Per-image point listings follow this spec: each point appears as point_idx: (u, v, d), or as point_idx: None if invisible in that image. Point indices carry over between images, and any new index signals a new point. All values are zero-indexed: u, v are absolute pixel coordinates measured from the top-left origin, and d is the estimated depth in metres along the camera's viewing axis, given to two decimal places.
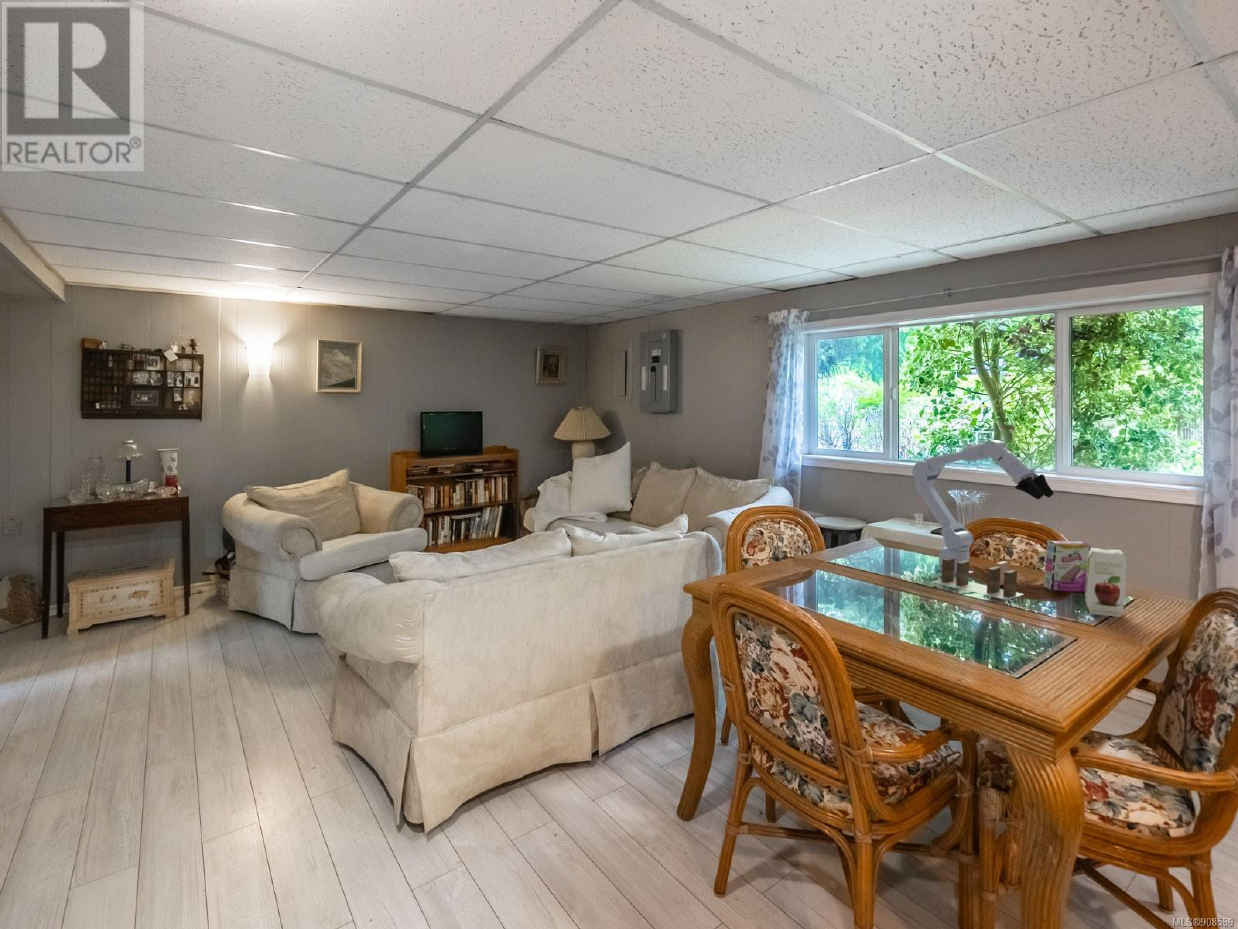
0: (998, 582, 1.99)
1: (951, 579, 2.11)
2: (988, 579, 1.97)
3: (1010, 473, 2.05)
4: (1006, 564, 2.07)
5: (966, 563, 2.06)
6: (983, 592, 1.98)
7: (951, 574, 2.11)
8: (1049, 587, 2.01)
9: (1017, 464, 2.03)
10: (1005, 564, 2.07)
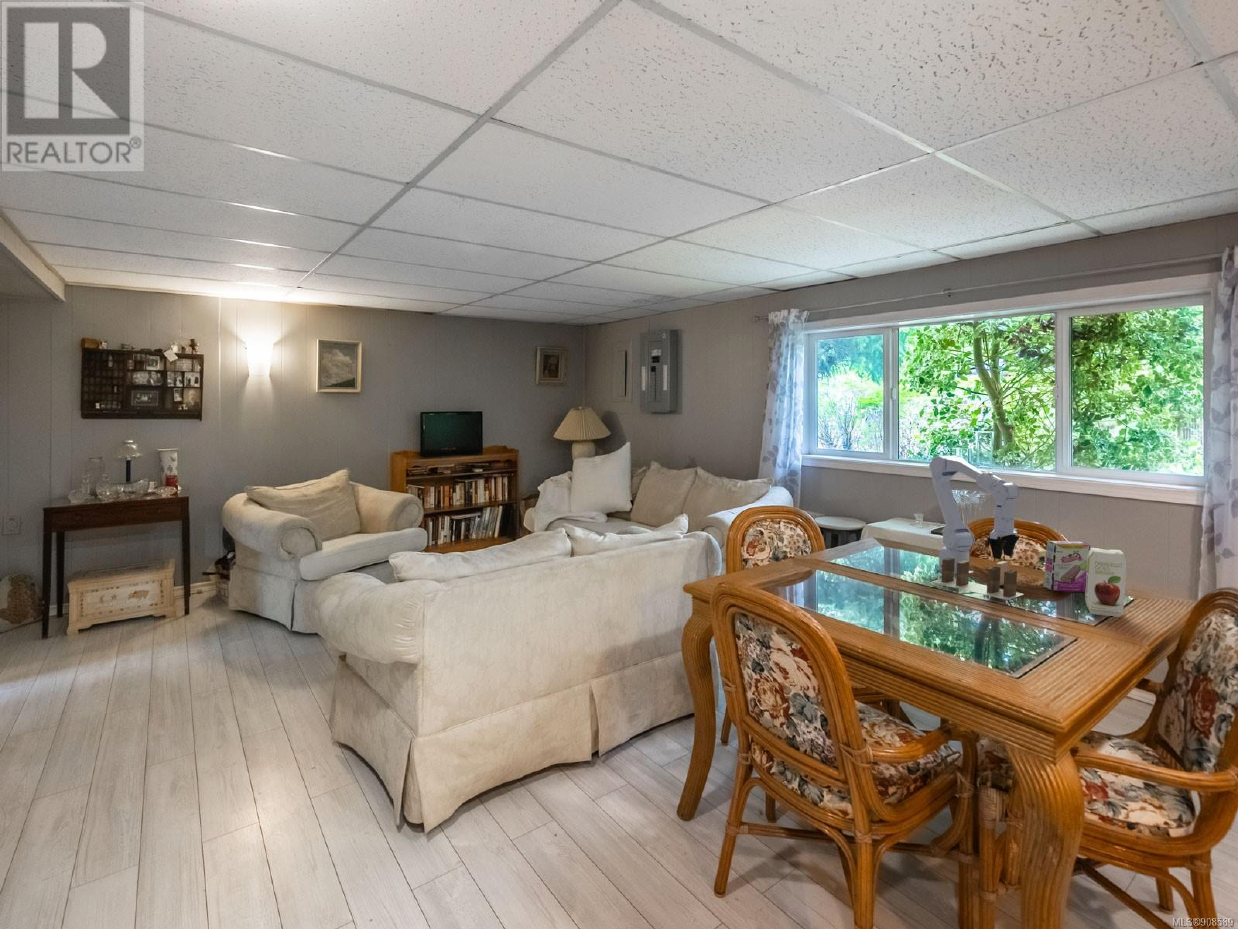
0: (998, 582, 1.99)
1: (951, 579, 2.11)
2: (988, 579, 1.97)
3: (996, 522, 2.06)
4: (1006, 564, 2.07)
5: (966, 563, 2.06)
6: (983, 592, 1.98)
7: (951, 574, 2.11)
8: (1049, 587, 2.01)
9: (1008, 521, 2.03)
10: (1005, 564, 2.07)
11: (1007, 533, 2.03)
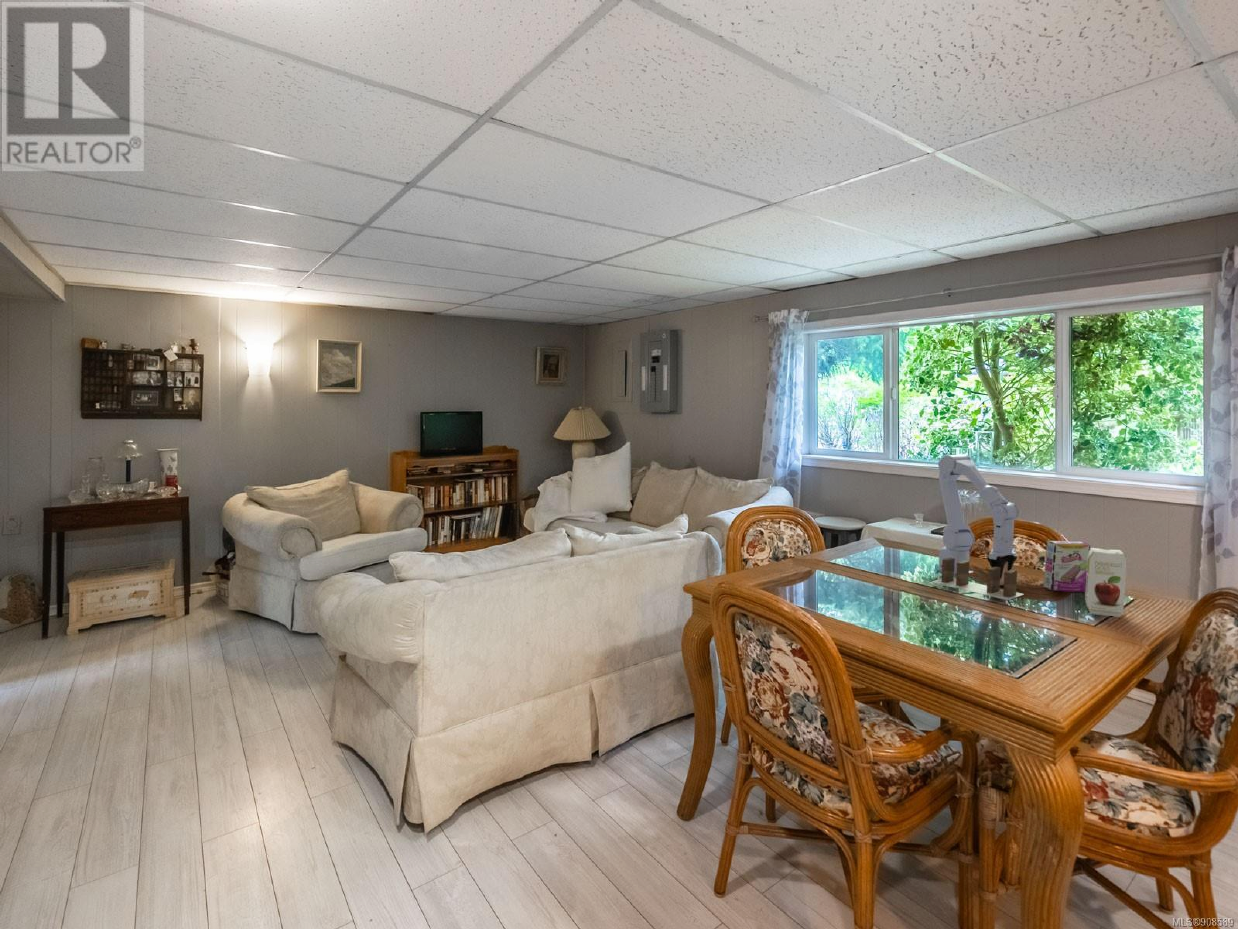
0: (998, 582, 1.99)
1: (951, 579, 2.11)
2: (988, 579, 1.97)
3: (995, 542, 2.06)
4: (1006, 564, 2.07)
5: (966, 563, 2.06)
6: (983, 592, 1.98)
7: (951, 574, 2.11)
8: (1049, 587, 2.01)
9: (1007, 541, 2.04)
10: (1005, 564, 2.07)
11: (1006, 553, 2.04)
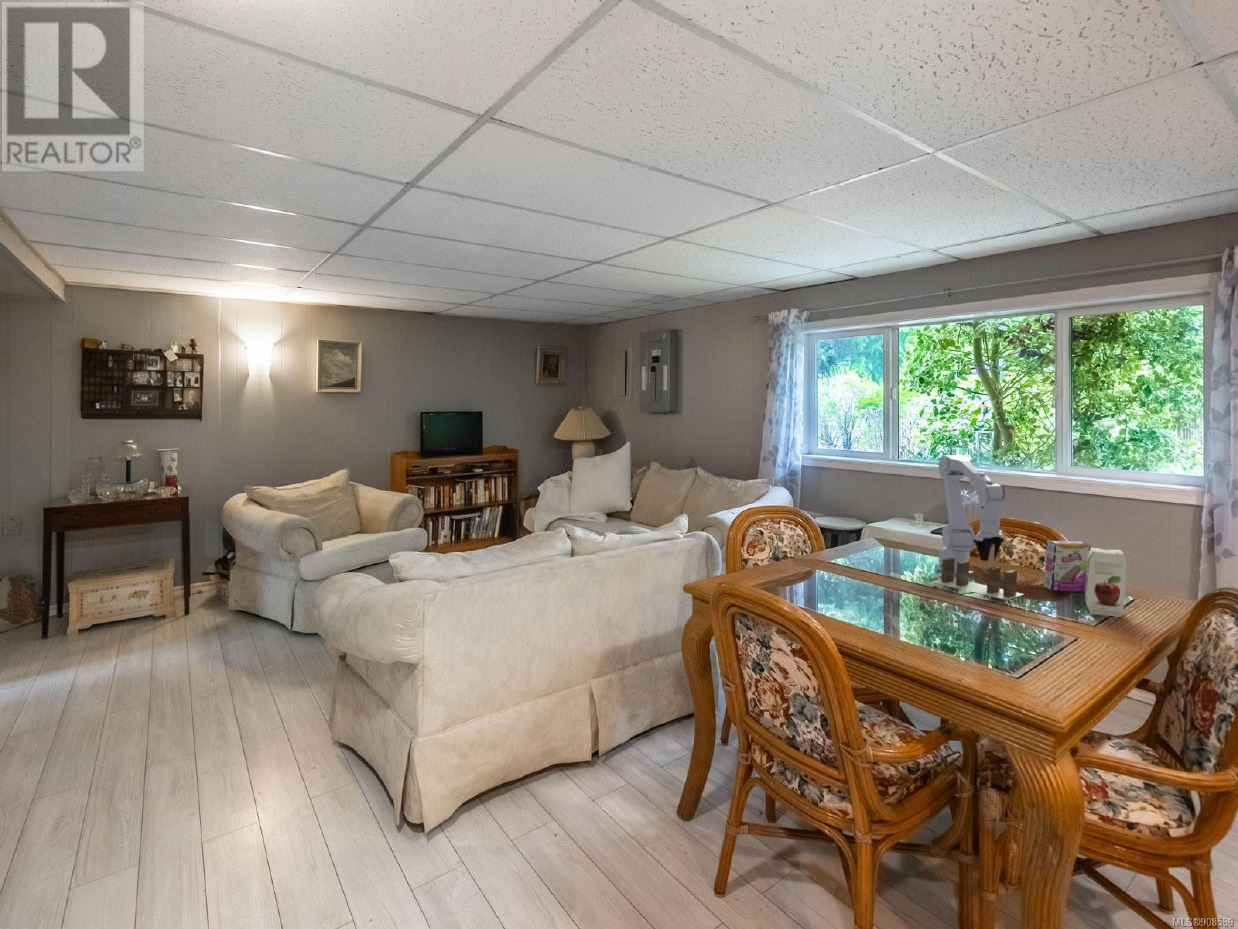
0: (998, 582, 1.99)
1: (951, 579, 2.11)
2: (988, 579, 1.97)
3: (981, 524, 2.03)
4: (993, 546, 2.04)
5: (966, 563, 2.06)
6: (983, 592, 1.98)
7: (951, 574, 2.11)
8: (1049, 587, 2.01)
9: (993, 523, 2.00)
10: (992, 546, 2.03)
11: (993, 535, 2.00)
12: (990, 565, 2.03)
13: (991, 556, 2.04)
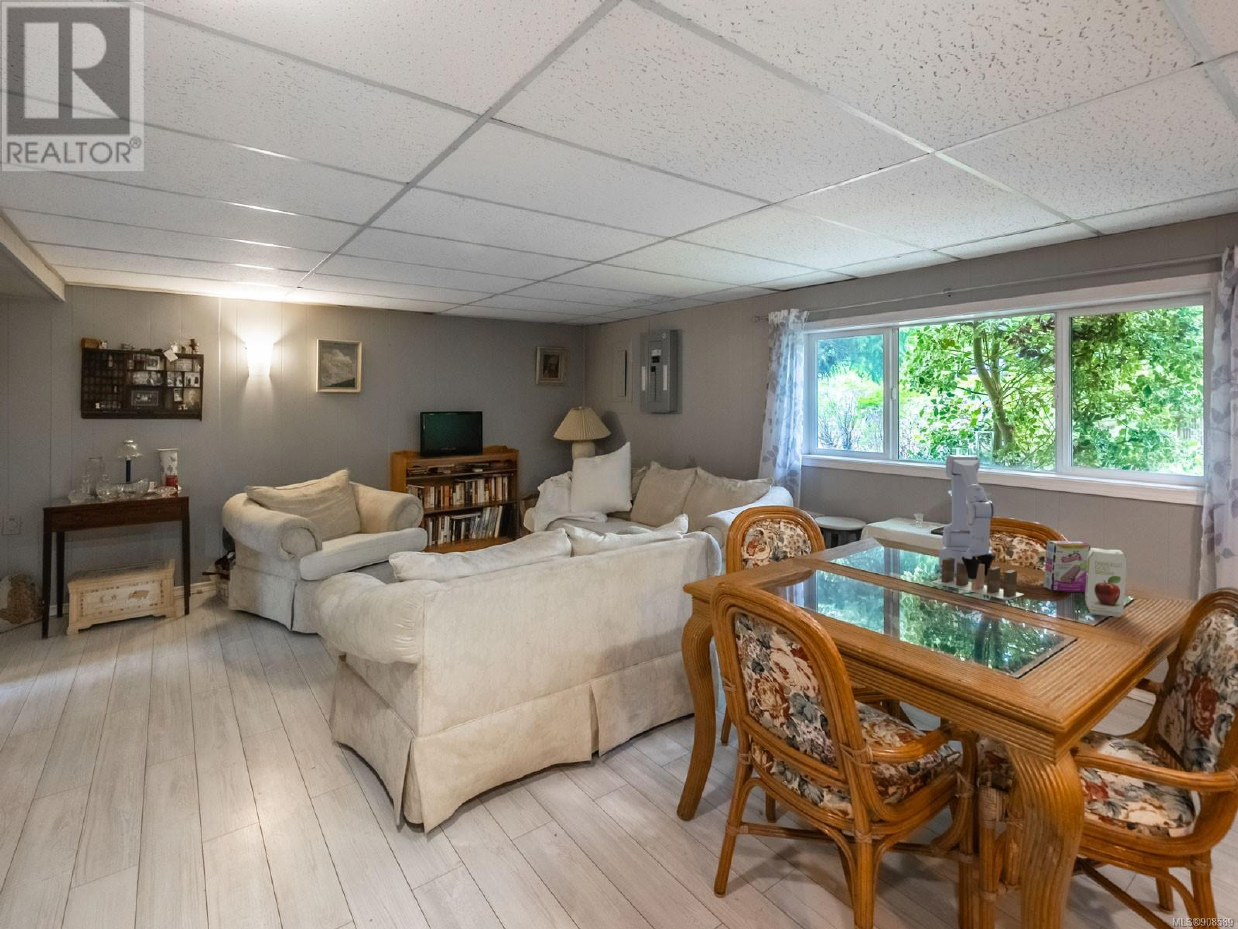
0: (998, 582, 1.99)
1: (951, 579, 2.11)
2: (988, 579, 1.97)
3: (971, 541, 2.01)
4: (983, 566, 2.02)
5: None
6: (983, 592, 1.98)
7: (951, 574, 2.11)
8: (1049, 587, 2.01)
9: (983, 540, 1.99)
10: (981, 566, 2.02)
11: (982, 553, 1.99)
12: (980, 585, 2.02)
13: (981, 576, 2.02)
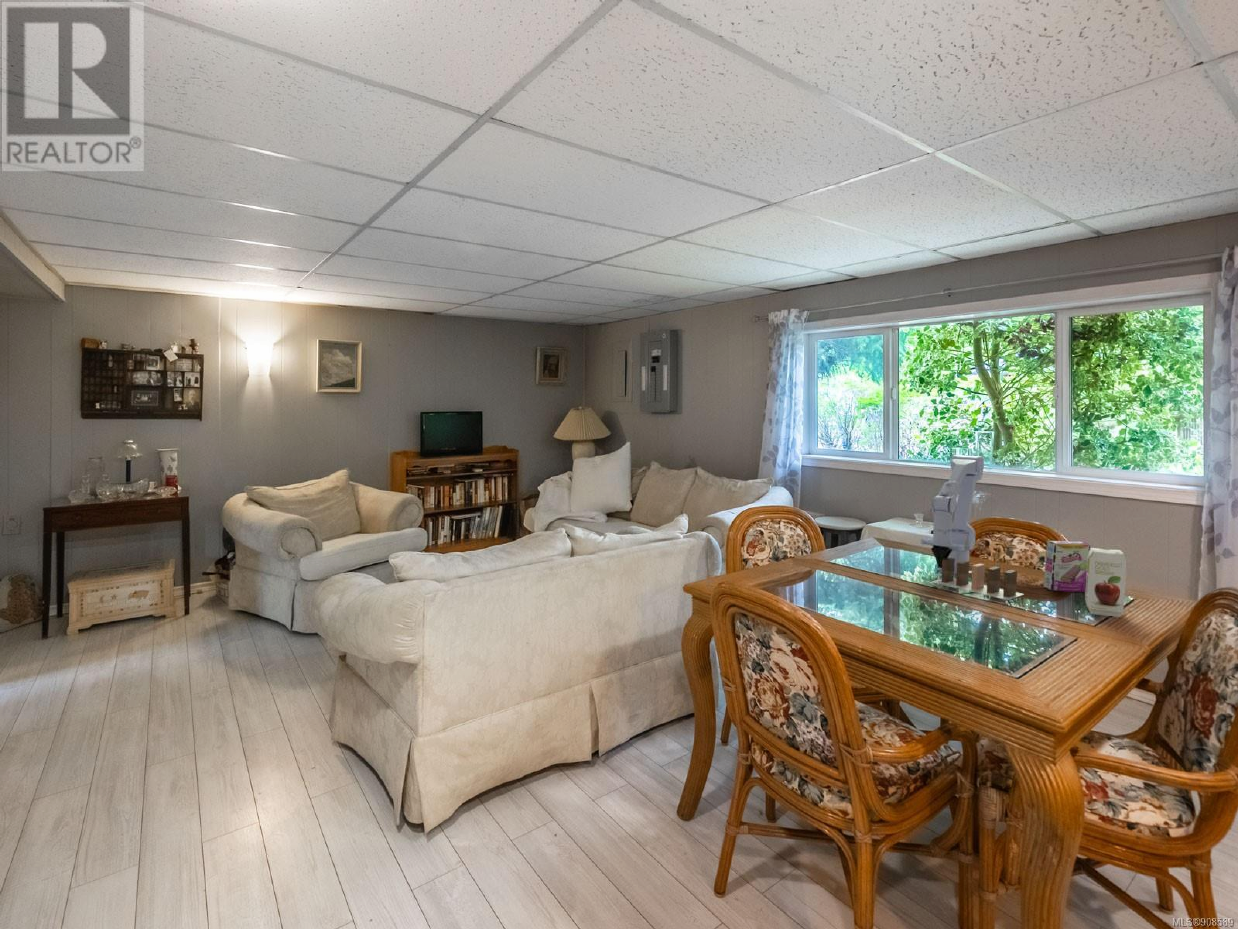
0: (998, 582, 1.99)
1: (951, 579, 2.11)
2: (988, 579, 1.97)
3: None
4: (983, 566, 2.02)
5: (966, 563, 2.06)
6: (983, 592, 1.98)
7: (951, 574, 2.11)
8: (1049, 587, 2.01)
9: (934, 531, 2.12)
10: (981, 566, 2.02)
11: (931, 542, 2.13)
12: (980, 585, 2.02)
13: (981, 576, 2.02)
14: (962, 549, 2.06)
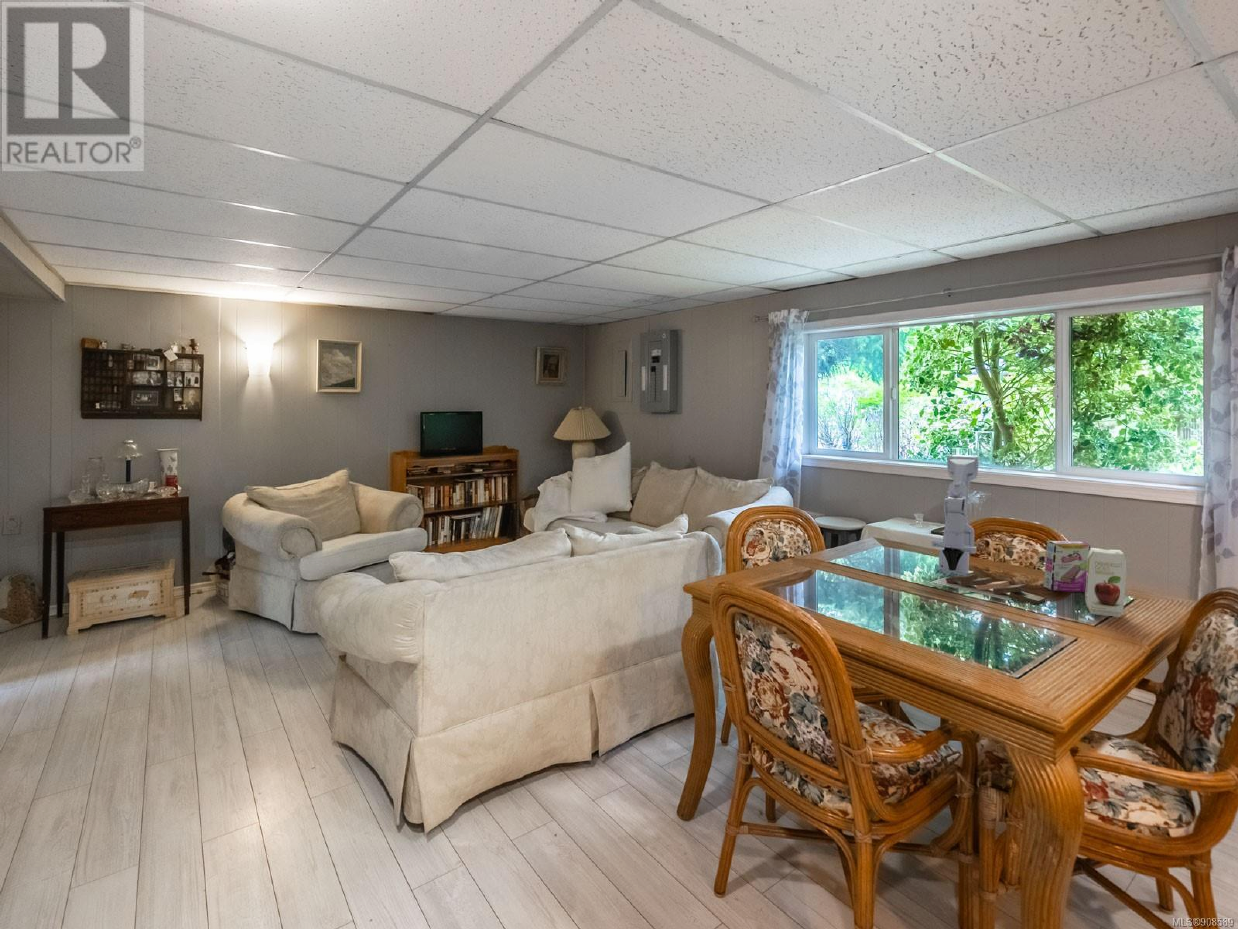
0: None
1: None
2: (1007, 589, 1.93)
3: None
4: (1005, 586, 1.97)
5: (988, 583, 2.00)
6: (983, 592, 1.98)
7: None
8: (1049, 587, 2.01)
9: (945, 533, 2.09)
10: (1005, 586, 1.96)
11: (943, 544, 2.10)
12: None
13: None
14: (974, 551, 2.03)
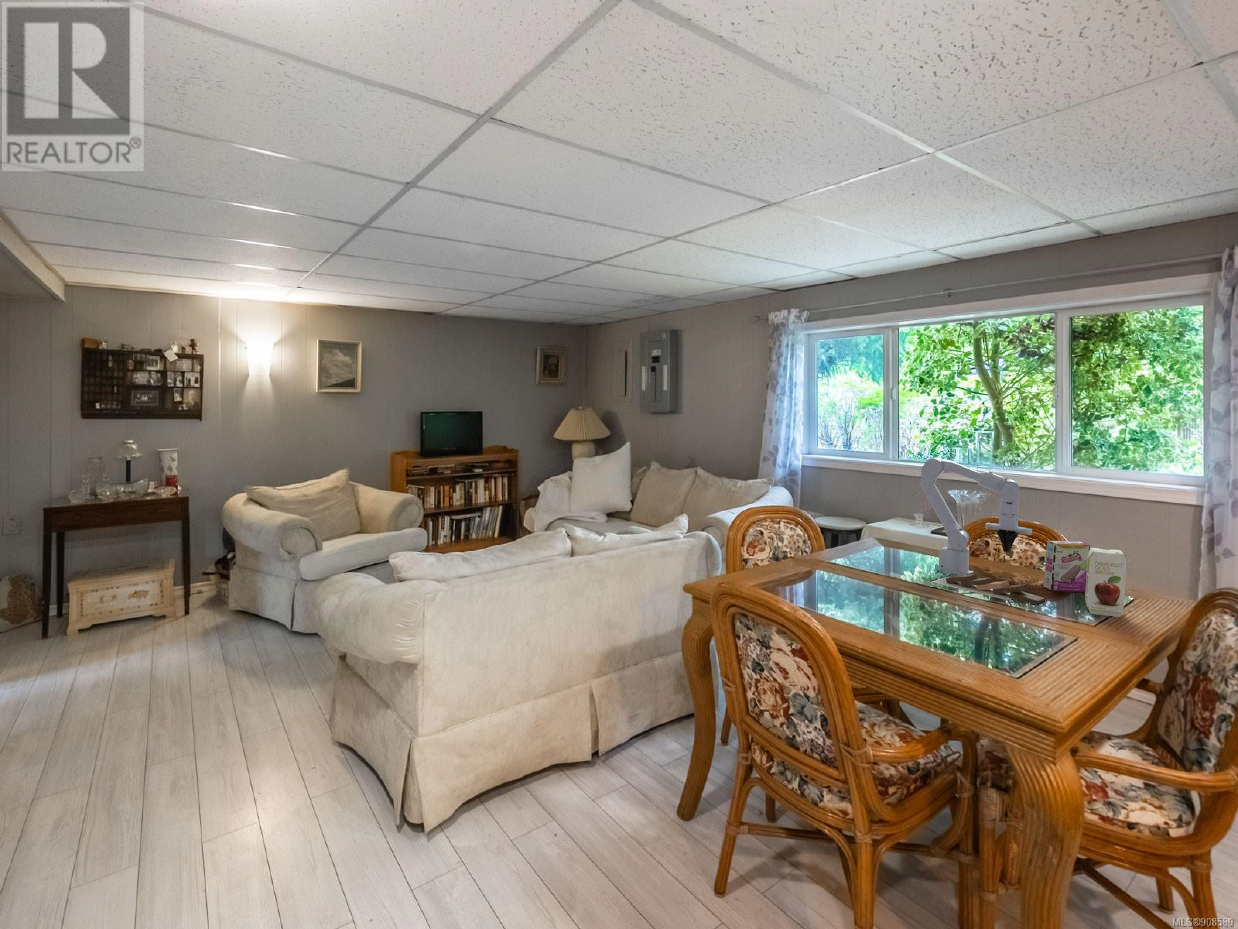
0: None
1: None
2: (1007, 589, 1.93)
3: None
4: (1005, 586, 1.97)
5: (988, 583, 2.00)
6: (983, 592, 1.98)
7: None
8: (1049, 587, 2.01)
9: (1000, 515, 2.14)
10: (1005, 586, 1.96)
11: (997, 526, 2.15)
12: None
13: None
14: (1030, 533, 2.08)
